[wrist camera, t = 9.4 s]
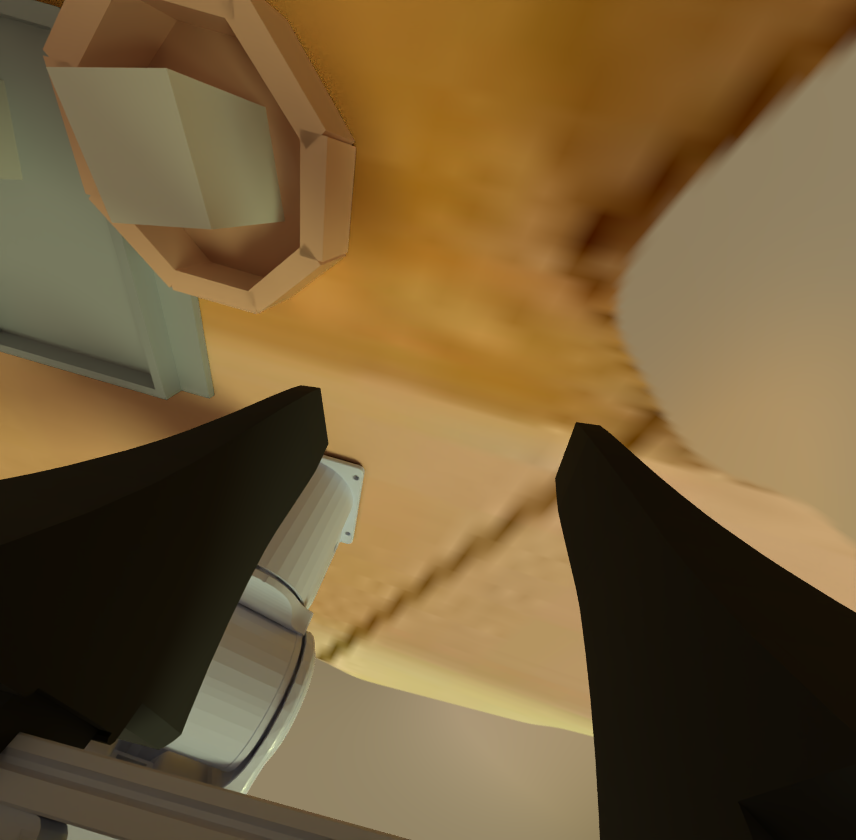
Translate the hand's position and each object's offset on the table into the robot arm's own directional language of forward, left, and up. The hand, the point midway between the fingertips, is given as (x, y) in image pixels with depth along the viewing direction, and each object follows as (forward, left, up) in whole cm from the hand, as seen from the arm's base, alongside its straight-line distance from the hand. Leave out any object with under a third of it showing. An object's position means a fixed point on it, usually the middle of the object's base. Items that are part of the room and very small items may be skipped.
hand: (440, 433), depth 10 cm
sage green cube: (+4, +12, -9) cm, 16 cm away
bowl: (+4, +12, -10) cm, 16 cm away
